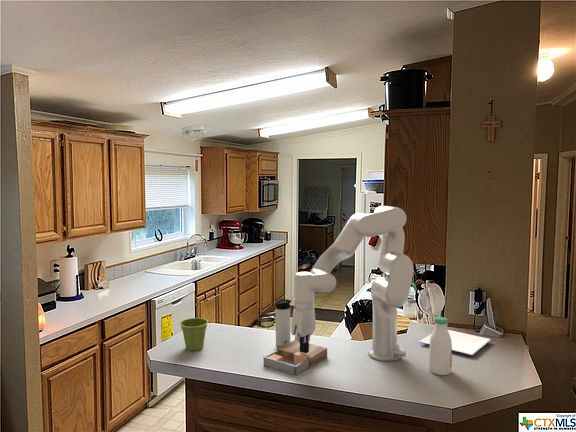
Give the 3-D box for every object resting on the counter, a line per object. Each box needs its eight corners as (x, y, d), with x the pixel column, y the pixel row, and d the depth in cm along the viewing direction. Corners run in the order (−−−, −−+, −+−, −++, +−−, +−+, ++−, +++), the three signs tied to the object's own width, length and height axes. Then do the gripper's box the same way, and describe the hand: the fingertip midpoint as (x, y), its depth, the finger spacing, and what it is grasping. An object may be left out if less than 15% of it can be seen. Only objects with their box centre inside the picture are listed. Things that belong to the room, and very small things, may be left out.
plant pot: (174, 351, 185) (173, 324, 184) (190, 341, 196) (189, 316, 195) (199, 355, 181) (198, 328, 180) (214, 345, 192) (213, 319, 191)
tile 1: (275, 360, 167) (275, 366, 167) (283, 356, 170) (283, 362, 171) (266, 357, 170) (266, 363, 170) (274, 353, 173) (274, 360, 173)
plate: (490, 343, 191) (491, 338, 191) (472, 359, 175) (472, 354, 174) (440, 332, 206) (440, 327, 206) (418, 345, 189) (418, 340, 189)
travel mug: (289, 349, 186) (289, 302, 184) (274, 348, 187) (273, 301, 186) (292, 343, 192) (292, 298, 191) (277, 342, 193) (277, 297, 192)
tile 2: (307, 354, 167) (303, 356, 165) (307, 366, 167) (303, 368, 165) (297, 351, 170) (293, 353, 168) (297, 363, 170) (293, 365, 168)
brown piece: (327, 358, 176) (327, 348, 176) (310, 368, 167) (310, 358, 167) (294, 349, 186) (294, 339, 186) (276, 358, 177) (276, 348, 176)
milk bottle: (448, 377, 158) (449, 322, 156) (426, 373, 162) (427, 319, 161) (453, 369, 165) (454, 317, 163) (432, 365, 169) (433, 313, 167)
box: (309, 368, 167) (309, 359, 167) (295, 376, 160) (295, 366, 160) (277, 358, 176) (277, 350, 176) (263, 365, 170) (263, 356, 169)
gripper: (307, 299, 176) (307, 344, 178) (284, 307, 165) (284, 355, 166) (323, 302, 172) (323, 348, 173) (300, 311, 160) (300, 360, 162)
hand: (304, 351), depth 170 cm, fingers closed
